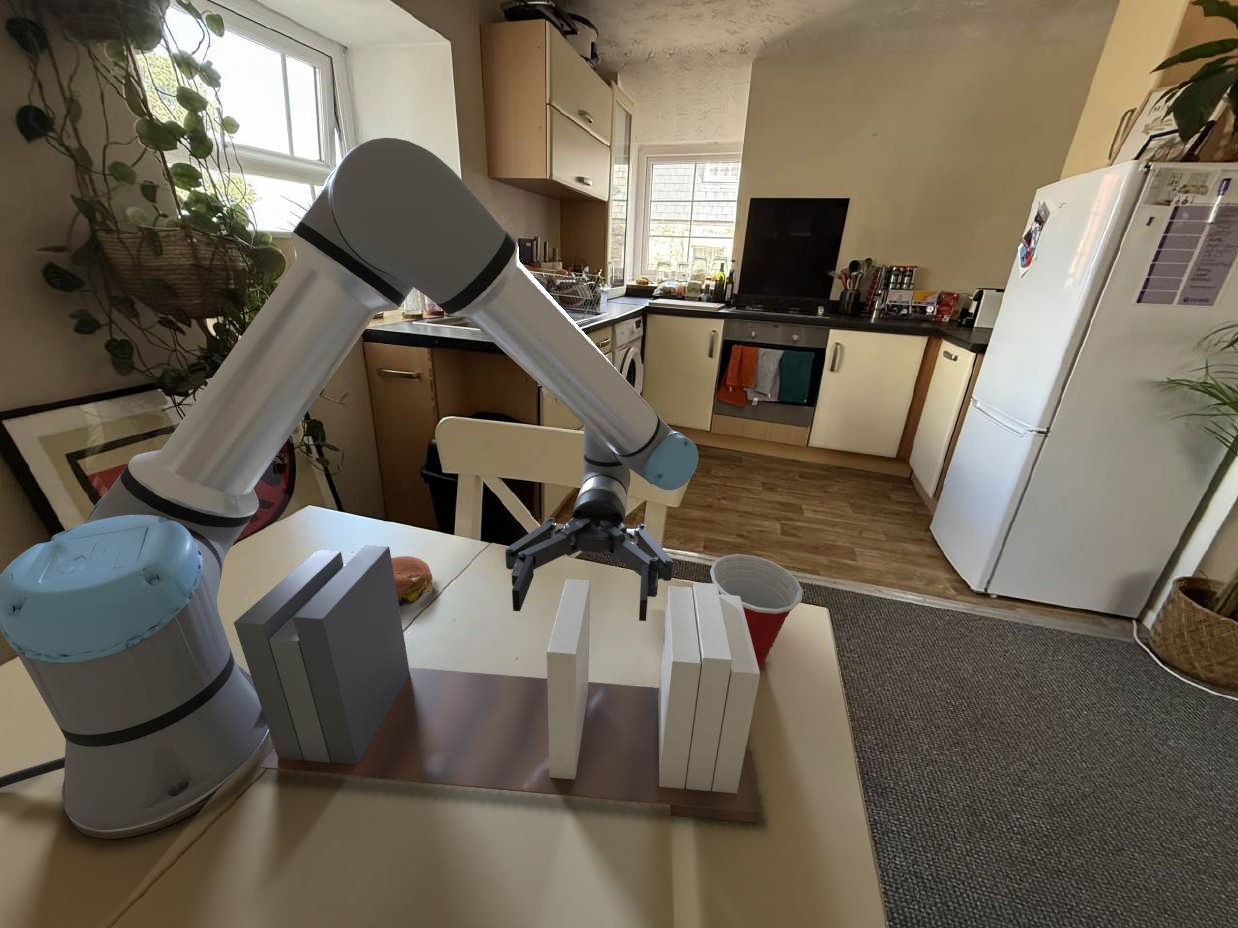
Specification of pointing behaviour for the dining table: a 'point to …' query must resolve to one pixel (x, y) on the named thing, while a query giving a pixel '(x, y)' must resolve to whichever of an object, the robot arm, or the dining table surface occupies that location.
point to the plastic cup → (758, 595)
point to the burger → (411, 579)
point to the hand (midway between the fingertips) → (579, 606)
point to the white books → (705, 690)
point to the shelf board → (527, 744)
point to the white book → (568, 678)
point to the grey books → (327, 654)
